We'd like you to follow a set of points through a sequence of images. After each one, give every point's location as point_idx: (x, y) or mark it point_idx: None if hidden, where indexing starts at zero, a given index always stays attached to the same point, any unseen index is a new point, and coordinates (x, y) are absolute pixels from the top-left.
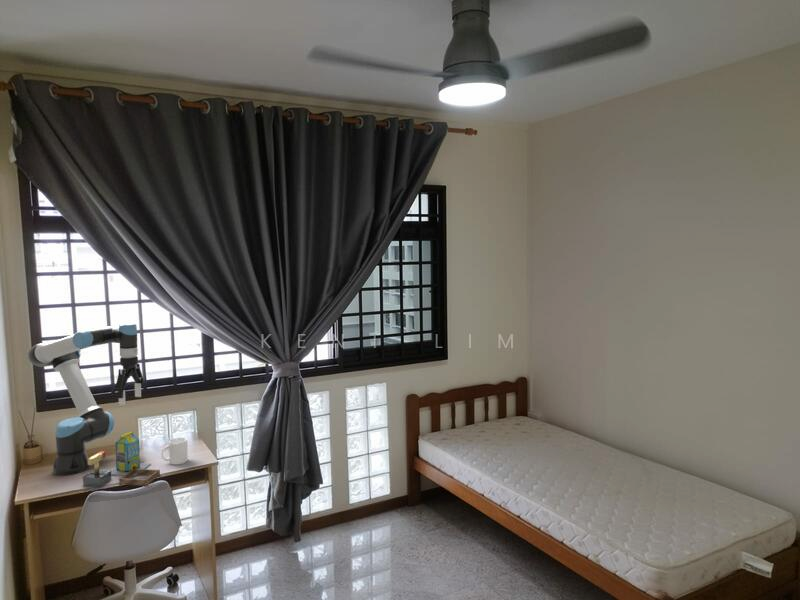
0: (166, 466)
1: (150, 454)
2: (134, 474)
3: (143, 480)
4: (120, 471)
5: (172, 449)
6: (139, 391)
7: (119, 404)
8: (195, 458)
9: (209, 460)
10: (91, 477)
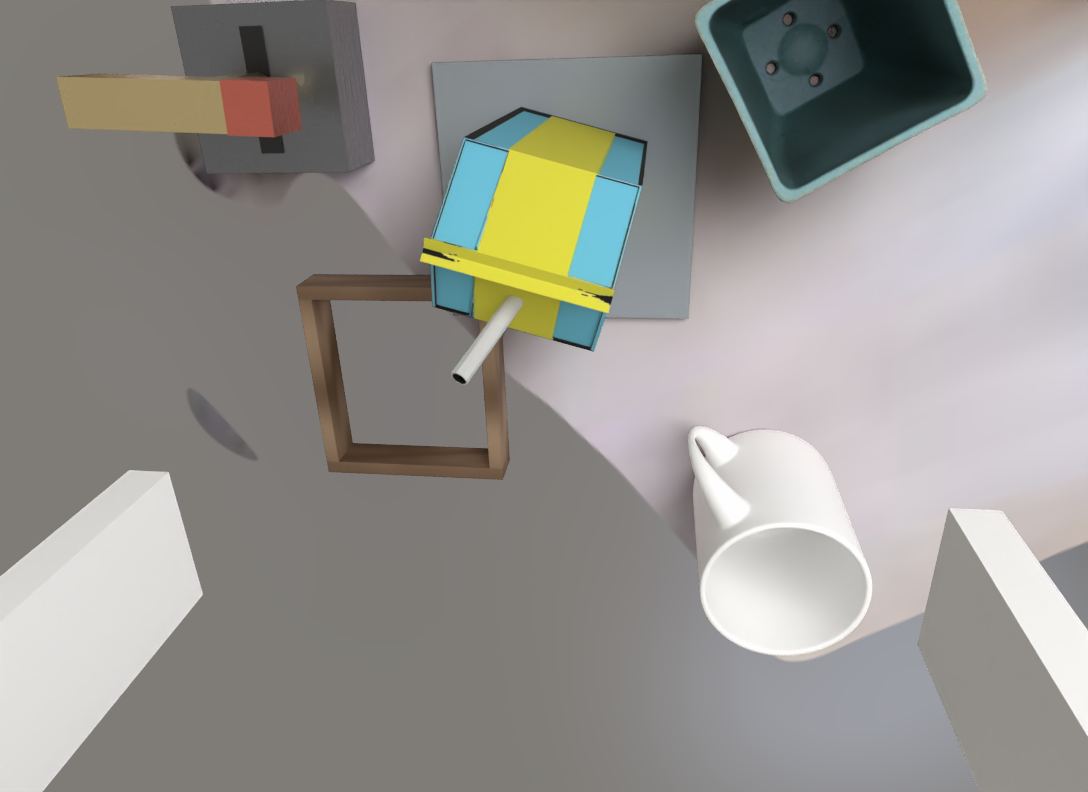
0: (663, 439)
1: (940, 190)
2: None
3: (326, 451)
4: None
5: (698, 543)
6: (981, 770)
7: (128, 488)
8: None
9: (789, 657)
10: None
